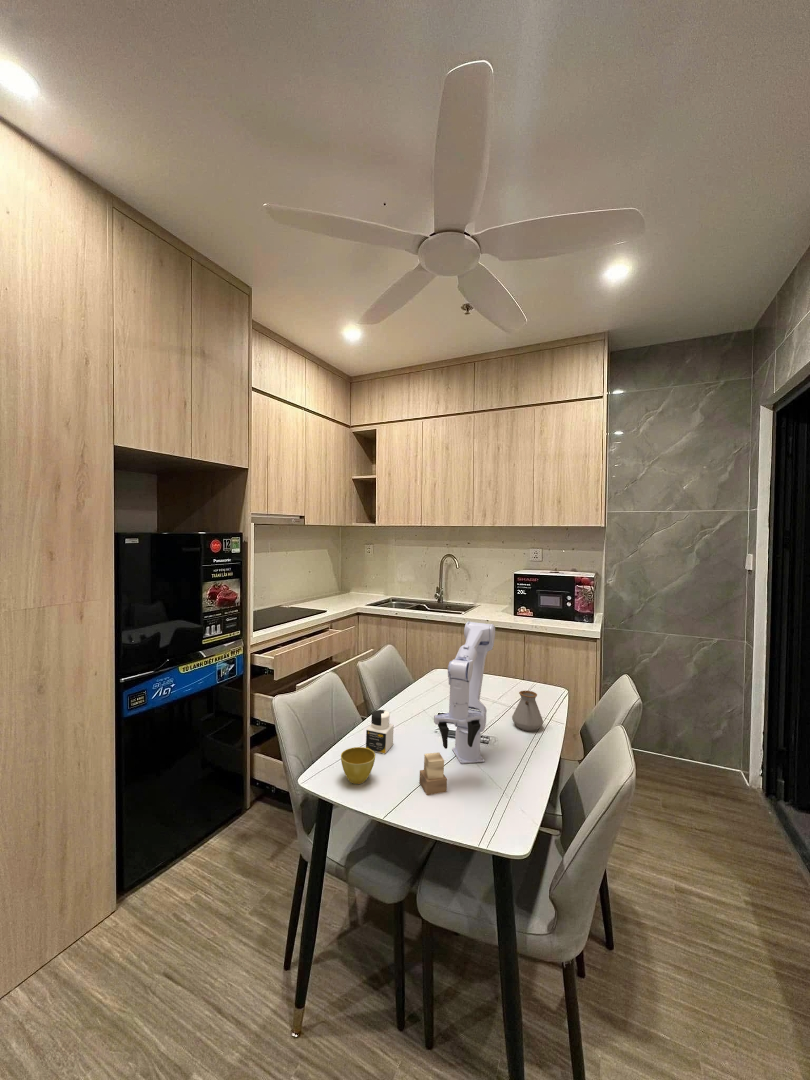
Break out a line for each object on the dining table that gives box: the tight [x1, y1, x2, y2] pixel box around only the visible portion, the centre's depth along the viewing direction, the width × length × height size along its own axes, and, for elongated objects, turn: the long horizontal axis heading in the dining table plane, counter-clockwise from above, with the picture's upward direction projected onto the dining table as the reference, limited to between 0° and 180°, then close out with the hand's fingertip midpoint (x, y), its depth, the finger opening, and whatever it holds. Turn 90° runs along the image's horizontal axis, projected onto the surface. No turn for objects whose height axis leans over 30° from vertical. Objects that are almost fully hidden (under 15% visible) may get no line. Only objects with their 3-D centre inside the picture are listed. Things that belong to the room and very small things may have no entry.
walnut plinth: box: [418, 769, 448, 796], centre depth 126 cm, size 6×6×4 cm
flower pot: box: [340, 746, 376, 785], centre depth 128 cm, size 10×10×7 cm
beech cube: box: [423, 752, 445, 779], centre depth 126 cm, size 4×4×5 cm
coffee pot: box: [511, 690, 544, 732], centre depth 163 cm, size 21×12×15 cm, turn 161°
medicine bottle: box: [365, 709, 394, 755], centre depth 148 cm, size 7×7×12 cm
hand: (457, 746), depth 130 cm, fingers open, 7 cm apart
